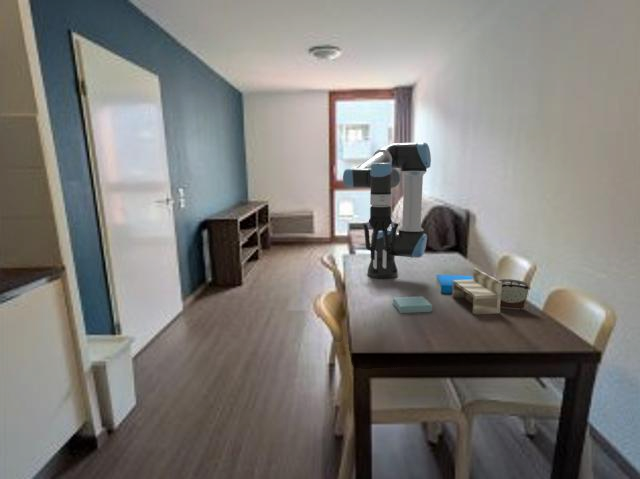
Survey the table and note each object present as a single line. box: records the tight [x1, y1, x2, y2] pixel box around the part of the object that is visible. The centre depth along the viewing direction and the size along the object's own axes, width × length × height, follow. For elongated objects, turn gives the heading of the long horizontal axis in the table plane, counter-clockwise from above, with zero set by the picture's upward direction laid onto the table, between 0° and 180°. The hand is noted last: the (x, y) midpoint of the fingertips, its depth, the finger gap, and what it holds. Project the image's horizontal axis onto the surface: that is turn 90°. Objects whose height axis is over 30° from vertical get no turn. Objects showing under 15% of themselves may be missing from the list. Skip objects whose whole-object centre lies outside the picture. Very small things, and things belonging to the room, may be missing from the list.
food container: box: [498, 278, 531, 311], centre depth 149 cm, size 12×6×10 cm, turn 71°
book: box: [435, 274, 473, 294], centre depth 171 cm, size 17×4×25 cm
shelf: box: [451, 267, 502, 315], centre depth 150 cm, size 20×10×12 cm, turn 5°
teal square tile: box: [392, 295, 433, 314], centre depth 149 cm, size 10×12×3 cm
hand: (379, 267), depth 145 cm, fingers open, 3 cm apart
